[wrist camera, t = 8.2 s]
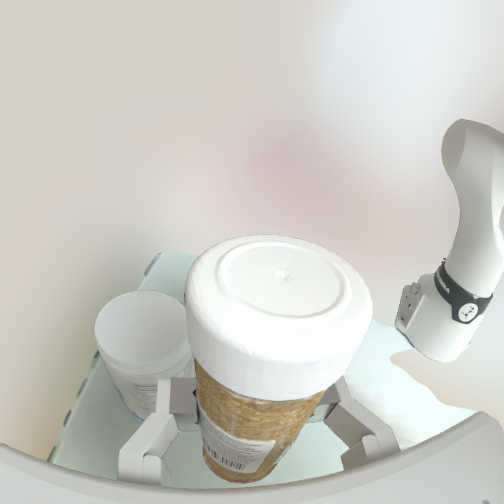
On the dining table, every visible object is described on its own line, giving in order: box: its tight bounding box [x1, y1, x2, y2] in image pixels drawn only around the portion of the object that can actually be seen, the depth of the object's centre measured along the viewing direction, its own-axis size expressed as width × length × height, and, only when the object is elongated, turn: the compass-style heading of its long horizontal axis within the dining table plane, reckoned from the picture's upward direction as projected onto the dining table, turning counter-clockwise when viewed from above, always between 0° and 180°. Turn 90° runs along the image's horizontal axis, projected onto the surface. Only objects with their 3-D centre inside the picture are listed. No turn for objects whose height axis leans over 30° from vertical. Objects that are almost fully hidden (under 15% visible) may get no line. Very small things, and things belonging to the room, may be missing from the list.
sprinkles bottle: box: [185, 234, 373, 484], centre depth 10 cm, size 5×5×13 cm
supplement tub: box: [94, 290, 195, 423], centre depth 27 cm, size 10×10×15 cm
